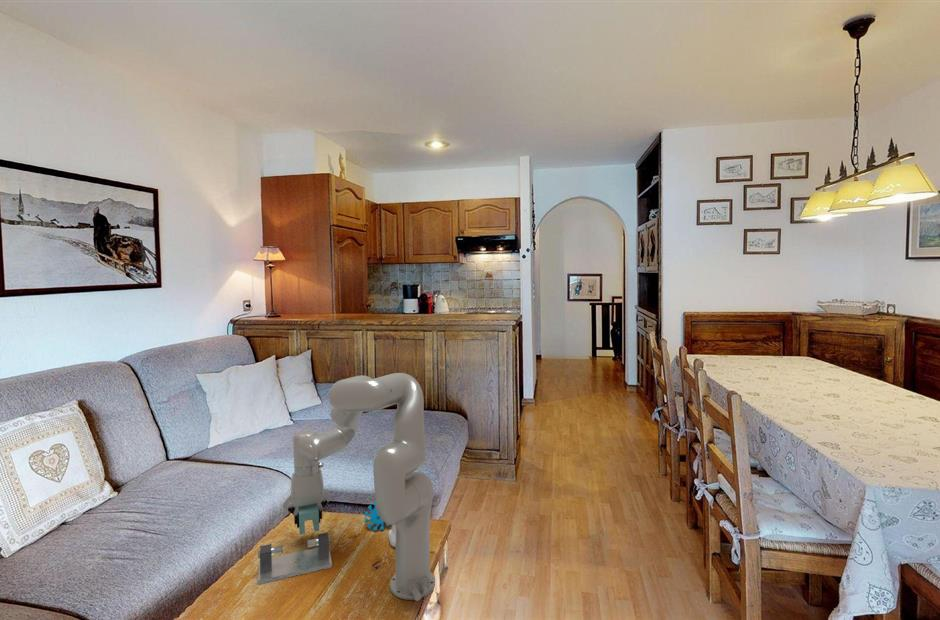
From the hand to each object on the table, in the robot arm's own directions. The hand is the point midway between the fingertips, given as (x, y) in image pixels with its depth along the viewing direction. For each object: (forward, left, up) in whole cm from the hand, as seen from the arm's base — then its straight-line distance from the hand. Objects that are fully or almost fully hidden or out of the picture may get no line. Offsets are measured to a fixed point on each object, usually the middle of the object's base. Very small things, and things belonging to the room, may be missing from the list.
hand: (308, 523), depth 145 cm
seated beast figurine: (-11, -28, -7) cm, 31 cm away
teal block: (0, 0, -1) cm, 1 cm away
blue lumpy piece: (+1, -24, -7) cm, 25 cm away
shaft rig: (-11, +4, -7) cm, 14 cm away
